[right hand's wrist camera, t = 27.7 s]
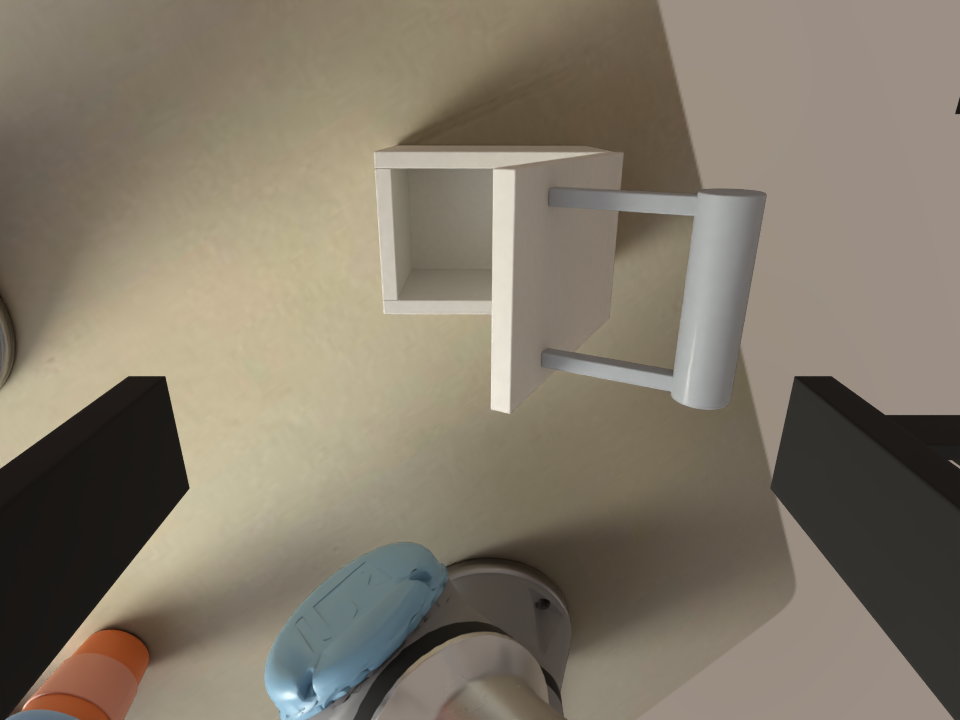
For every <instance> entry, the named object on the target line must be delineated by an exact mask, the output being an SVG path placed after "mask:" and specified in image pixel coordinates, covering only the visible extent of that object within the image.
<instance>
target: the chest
mask: <svg viewBox="0 0 960 720" xmlns="http://www.w3.org/2000/svg"><path fill="white" fill-rule="evenodd" d="M604 152H612V151H608V150H603V149H598V148H594V147H589V146H428V145H396V146H393V147H389V148H385V149H382V150H378V151H375V152H374V162H375V168H376V169H375V179H376V195H377V211H378V227H379V243H380V259H381V275H382V291H383V307H384V314H492V239H493V169H494V168H498V167H505V166H512V165H519V164H526V163H533V162H541V161H548V160H555V159H562V158H569V157H576V156H583V155H590V154H597V153H604Z"/></svg>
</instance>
